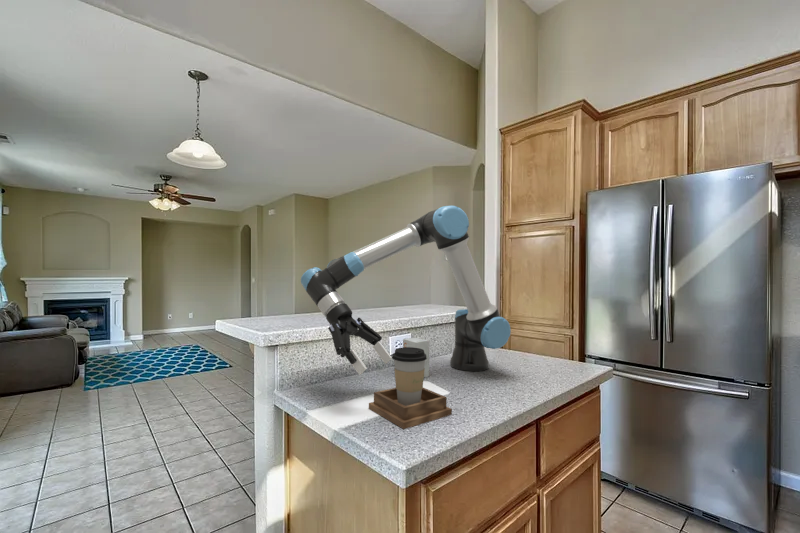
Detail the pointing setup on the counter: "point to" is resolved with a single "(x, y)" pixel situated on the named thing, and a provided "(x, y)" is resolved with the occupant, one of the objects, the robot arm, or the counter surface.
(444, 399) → the wooden tray
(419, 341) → the small box
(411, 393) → the coffee cup
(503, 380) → the counter surface
